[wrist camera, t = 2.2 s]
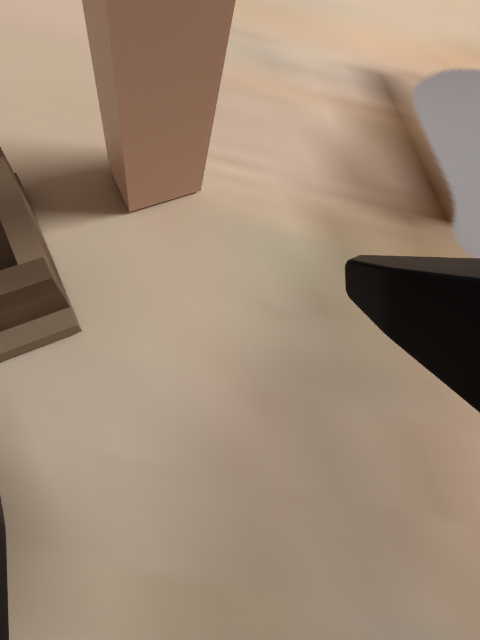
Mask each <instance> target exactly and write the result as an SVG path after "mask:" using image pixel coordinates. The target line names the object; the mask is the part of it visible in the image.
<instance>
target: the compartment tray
mask: <svg viewBox="0 0 480 640" xmlns="http://www.w3.org/2000/svg"><path fill="white" fill-rule="evenodd" d="M78 332H81V328H80V326H79V323H78V321H77V318H76V316H75V313H74V311H73V308H72V306H71V304H70V301H69V299H68V296H67V294H66V291H65V289H64V286H63V284H62V281H61V279H60V277H59V274H58V272H57V269H56V267H55V264H54V262H53V259H52V257H51V254H50V252H49V250H48V247H47V245H46V242H45V240H44V237H43V235H42V232H41V230H40V227H39V225H38V222H37V220H36V218H35V215H34V213H33V210H32V208H31V205H30V203H29V200H28V198H27V195H26V193H25V191H24V188H23V186H22V184H21V182H20V180H19V178H18V176H17V174H16V173H14V172H13V170H12V168H11V166H10V165H9V163H8V161H7V159H6V157H5V155H4V153H3V151H2V149H1V147H0V362H2V361H4V360H7V359H10V358H12V357H15V356H18V355H20V354H23V353H25V352H28V351H31V350H33V349H36V348H39V347H41V346H44V345H47V344H49V343H52V342H54V341H57V340H60V339H62V338H65V337H68V336H70V335H73V334H75V333H78Z"/></svg>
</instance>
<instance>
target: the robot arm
mask: <svg viewBox="0 0 480 640" xmlns="http://www.w3.org/2000/svg"><path fill="white" fill-rule="evenodd" d="M345 281H346V292H347V294H348V296H349V298H350V299H351V300H352V301H353V302H354V303H355V304H356V305H357V306H358V307H359V308H360V309H361V310H362V311H363V312H364V313H365V314H366V315H367V316H368V317H369V318H370V319H371V320H372V321H373V322H374V323H375V324H376V325H377V326H378V327H379V328H380V329H381V330H382V331H383V332H384V333H385V334H386V335H387V336H388V337H389V338H390V339H391V340H393V341H394V342H395V343H396V344H397V345H399V346H400V347H401V348H402V349H403V350H405V351H406V352H407V353H408V354H410V355H411V356H412V357H413V358H414V359H416V360H417V361H418V362H419V363H420V364H422V365H423V366H424V367H425V368H426V369H428V370H429V371H430V372H431V373H433V374H434V375H435V376H436V377H437V378H439V379H440V380H441V381H442V382H443V383H445V384H446V385H447V386H448V387H449V388H451V389H452V390H453V391H454V392H456V393H457V394H458V395H459V396H460V397H462V398H463V399H464V400H465V401H466V402H468V403H469V404H470V405H471V406H472V407H474V408H475V409H476V410H477V411H479V412H480V259H479V258H445V257H411V256H378V255H359V256H357V257H354V258H352V259H350V260H348V261H347V262H346V264H345ZM0 640H9V625H8V590H7V555H6V531H5V522H4V515H3V509H2V503H1V497H0Z"/></svg>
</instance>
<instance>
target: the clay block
mask: <svg viewBox="0 0 480 640" xmlns="http://www.w3.org/2000/svg"><path fill="white" fill-rule="evenodd" d="M82 3H83V9H84V15H85V21H86V27H87V33H88V39H89V45H90V51H91V57H92V63H93V70H94V76H95V82H96V88H97V94H98V100H99V106H100V112H101V118H102V124H103V130H104V136H105V142H106V148H107V154H108V160H109V166H110V170H111V173H112V175H113V177H114V179H115V181H116V184H117V186H118V188H119V190H120V192H121V195H122V197H123V199H124V201H125V203H126V206H127V208H128V210H129V212H132V211H135V210H138V209H141V208H145V207H148V206H151V205H155V204H158V203H161V202H164V201H168V200H171V199H174V198H178V197H181V196H184V195H187V194H191V193H194V192H197V191H201V186H202V180H203V175H204V170H205V164H206V159H207V153H208V148H209V142H210V137H211V131H212V126H213V120H214V115H215V109H216V104H217V98H218V93H219V87H220V82H221V76H222V71H223V66H224V60H225V55H226V49H227V44H228V38H229V33H230V27H231V22H232V16H233V11H234V5H235V0H82Z"/></svg>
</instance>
